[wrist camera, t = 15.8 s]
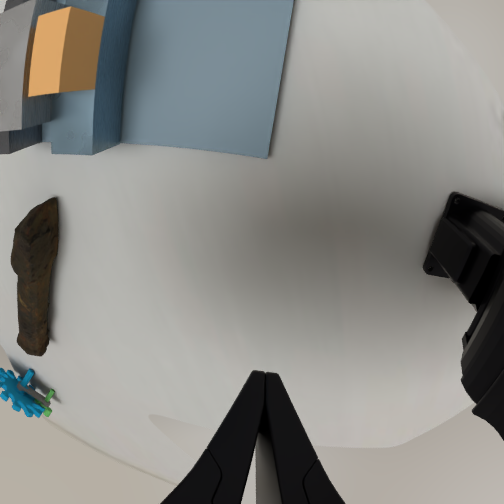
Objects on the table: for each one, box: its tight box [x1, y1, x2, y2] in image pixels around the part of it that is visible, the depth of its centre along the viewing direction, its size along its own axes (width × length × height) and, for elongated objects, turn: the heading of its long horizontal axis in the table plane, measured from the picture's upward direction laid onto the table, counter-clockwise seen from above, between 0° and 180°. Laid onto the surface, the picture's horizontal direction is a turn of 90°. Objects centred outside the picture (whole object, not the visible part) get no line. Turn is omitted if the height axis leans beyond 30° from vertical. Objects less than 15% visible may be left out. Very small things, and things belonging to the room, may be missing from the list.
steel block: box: [0, 0, 65, 132], centre depth 11 cm, size 4×7×6 cm, turn 172°
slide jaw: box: [28, 0, 137, 155], centre depth 11 cm, size 3×11×6 cm, turn 172°
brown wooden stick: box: [11, 197, 58, 356], centre depth 22 cm, size 19×4×5 cm, turn 147°
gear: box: [0, 368, 55, 418], centre depth 32 cm, size 11×6×10 cm
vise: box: [0, 0, 294, 159], centre depth 13 cm, size 19×11×4 cm, turn 82°
